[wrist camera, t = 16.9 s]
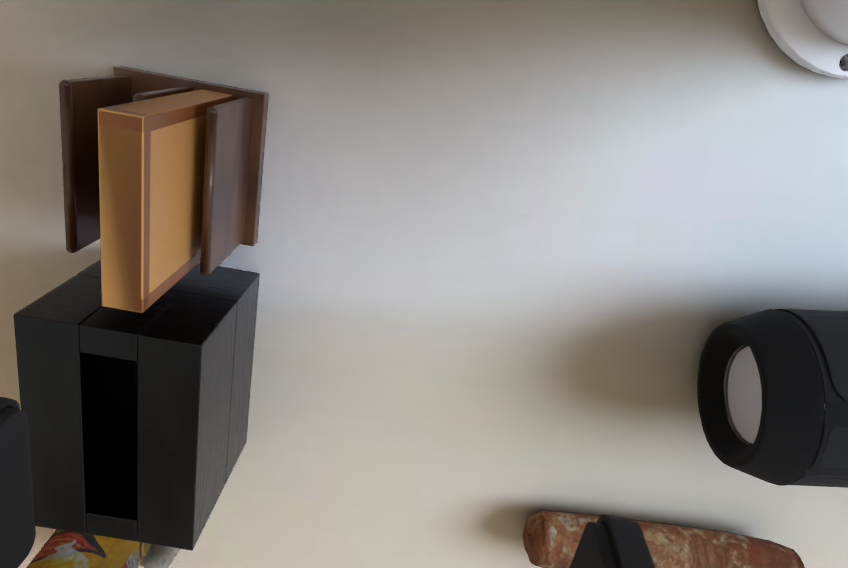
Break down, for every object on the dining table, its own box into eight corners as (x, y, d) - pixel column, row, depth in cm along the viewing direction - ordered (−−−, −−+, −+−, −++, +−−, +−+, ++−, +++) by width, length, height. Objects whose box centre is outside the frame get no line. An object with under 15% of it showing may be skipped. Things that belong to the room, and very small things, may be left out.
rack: (120, 66, 34) (44, 71, 28) (268, 93, 35) (228, 104, 28) (121, 219, 38) (53, 256, 31) (257, 242, 38) (218, 284, 31)
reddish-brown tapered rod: (752, 588, 47) (790, 656, 42) (511, 540, 46) (520, 604, 41) (788, 526, 45) (833, 589, 40) (535, 474, 44) (547, 532, 39)
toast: (201, 88, 34) (96, 108, 24) (233, 94, 34) (143, 116, 24) (195, 234, 37) (101, 306, 27) (225, 239, 37) (142, 313, 27)
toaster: (101, 246, 38) (-8, 310, 29) (259, 273, 39) (201, 345, 29) (105, 419, 43) (12, 523, 34) (246, 442, 43) (192, 551, 34)
